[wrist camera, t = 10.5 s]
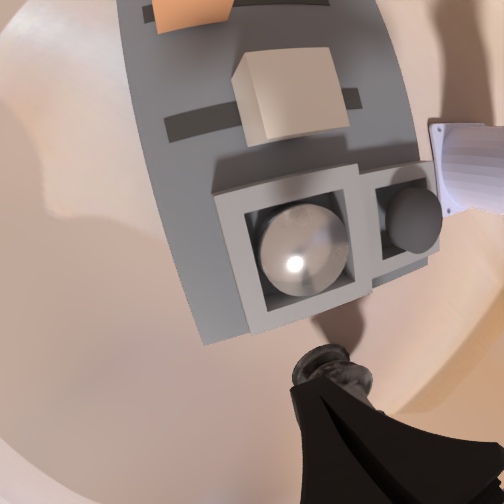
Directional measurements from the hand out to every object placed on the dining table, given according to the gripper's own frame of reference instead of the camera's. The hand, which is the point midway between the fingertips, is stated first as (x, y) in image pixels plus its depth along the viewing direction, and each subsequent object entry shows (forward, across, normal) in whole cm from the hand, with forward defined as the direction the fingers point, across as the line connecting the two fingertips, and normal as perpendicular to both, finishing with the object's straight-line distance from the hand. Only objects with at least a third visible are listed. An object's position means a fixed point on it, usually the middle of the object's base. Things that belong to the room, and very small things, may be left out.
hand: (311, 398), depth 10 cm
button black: (+7, -11, -3) cm, 13 cm away
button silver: (+8, -3, -3) cm, 9 cm away
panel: (+10, -5, -11) cm, 16 cm away
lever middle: (+8, -3, -11) cm, 14 cm away
